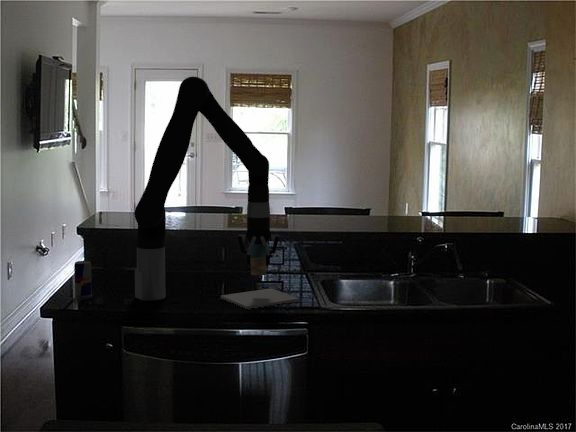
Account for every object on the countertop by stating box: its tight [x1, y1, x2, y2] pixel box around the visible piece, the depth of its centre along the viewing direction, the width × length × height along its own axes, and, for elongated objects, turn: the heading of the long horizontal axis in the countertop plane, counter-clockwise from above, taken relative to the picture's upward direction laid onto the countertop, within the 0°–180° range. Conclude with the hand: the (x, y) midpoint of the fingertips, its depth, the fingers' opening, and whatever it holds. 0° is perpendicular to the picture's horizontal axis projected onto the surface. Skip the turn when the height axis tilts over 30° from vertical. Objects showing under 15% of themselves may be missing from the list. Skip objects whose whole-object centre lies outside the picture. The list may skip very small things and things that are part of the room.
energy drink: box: [73, 260, 93, 300], centre depth 267 cm, size 5×5×12 cm
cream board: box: [220, 287, 300, 310], centre depth 267 cm, size 20×17×1 cm
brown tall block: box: [250, 244, 267, 276], centre depth 269 cm, size 5×5×11 cm
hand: (258, 265), depth 268 cm, fingers closed on brown tall block, 5 cm apart
